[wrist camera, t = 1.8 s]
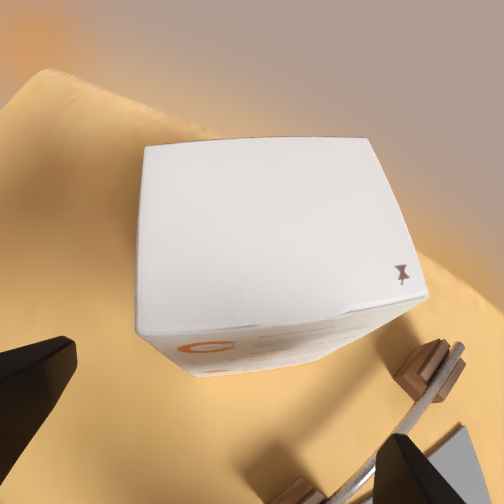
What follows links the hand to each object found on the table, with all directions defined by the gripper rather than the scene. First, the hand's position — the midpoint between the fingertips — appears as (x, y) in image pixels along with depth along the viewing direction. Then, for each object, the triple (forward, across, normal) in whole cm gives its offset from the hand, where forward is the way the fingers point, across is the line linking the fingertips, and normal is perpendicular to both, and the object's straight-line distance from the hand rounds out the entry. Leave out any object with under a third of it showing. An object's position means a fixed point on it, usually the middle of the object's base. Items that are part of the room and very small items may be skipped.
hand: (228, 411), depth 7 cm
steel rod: (+6, -9, +7) cm, 13 cm away
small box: (+12, 0, +5) cm, 13 cm away
